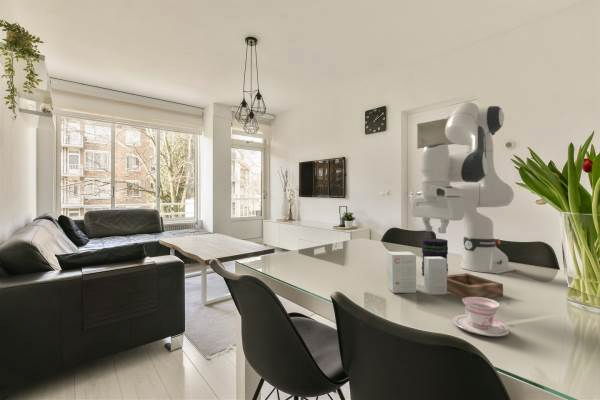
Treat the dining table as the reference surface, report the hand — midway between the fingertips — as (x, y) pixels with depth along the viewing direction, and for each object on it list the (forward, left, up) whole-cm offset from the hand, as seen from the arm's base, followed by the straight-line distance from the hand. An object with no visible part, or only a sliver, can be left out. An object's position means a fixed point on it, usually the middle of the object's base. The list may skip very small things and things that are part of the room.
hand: (435, 232), depth 98 cm
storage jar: (-16, -18, -21) cm, 32 cm away
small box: (+9, -6, -21) cm, 23 cm away
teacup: (+8, +24, -21) cm, 33 cm away
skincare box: (0, 0, -21) cm, 21 cm away
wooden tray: (-12, +2, -21) cm, 24 cm away
